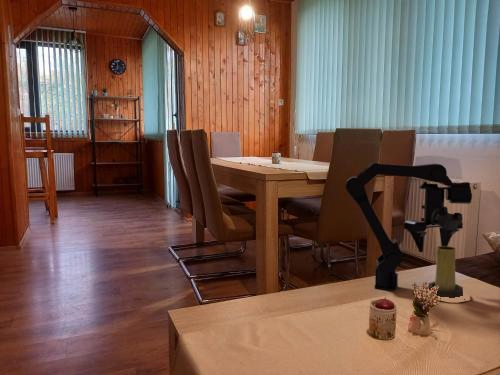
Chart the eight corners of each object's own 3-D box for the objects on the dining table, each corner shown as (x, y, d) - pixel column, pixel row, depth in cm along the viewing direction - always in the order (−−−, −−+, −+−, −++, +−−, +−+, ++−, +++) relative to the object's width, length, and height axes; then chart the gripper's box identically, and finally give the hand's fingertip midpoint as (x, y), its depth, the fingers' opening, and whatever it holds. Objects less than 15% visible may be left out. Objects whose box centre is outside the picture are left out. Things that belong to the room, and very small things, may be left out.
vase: (430, 290, 131) (431, 246, 130) (447, 289, 132) (448, 245, 131) (442, 296, 125) (443, 250, 124) (460, 295, 126) (461, 249, 125)
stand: (419, 299, 125) (420, 290, 125) (422, 285, 138) (422, 277, 138) (471, 305, 119) (472, 296, 119) (469, 291, 132) (469, 282, 132)
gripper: (428, 207, 121) (427, 259, 122) (477, 204, 127) (475, 254, 128) (403, 203, 132) (402, 251, 133) (450, 200, 137) (448, 246, 139)
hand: (432, 250), depth 133 cm, fingers open, 9 cm apart
